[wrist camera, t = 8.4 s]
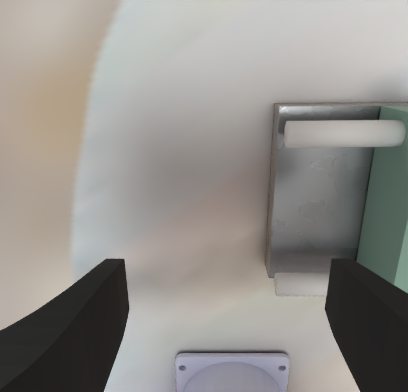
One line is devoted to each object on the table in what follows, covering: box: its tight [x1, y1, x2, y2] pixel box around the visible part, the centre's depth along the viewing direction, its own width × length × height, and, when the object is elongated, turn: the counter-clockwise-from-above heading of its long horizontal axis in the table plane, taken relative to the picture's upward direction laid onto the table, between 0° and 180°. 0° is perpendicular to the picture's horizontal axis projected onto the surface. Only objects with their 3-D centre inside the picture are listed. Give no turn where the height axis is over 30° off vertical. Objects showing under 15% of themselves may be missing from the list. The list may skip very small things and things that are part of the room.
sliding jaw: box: [274, 106, 408, 296], centre depth 17 cm, size 10×7×4 cm
